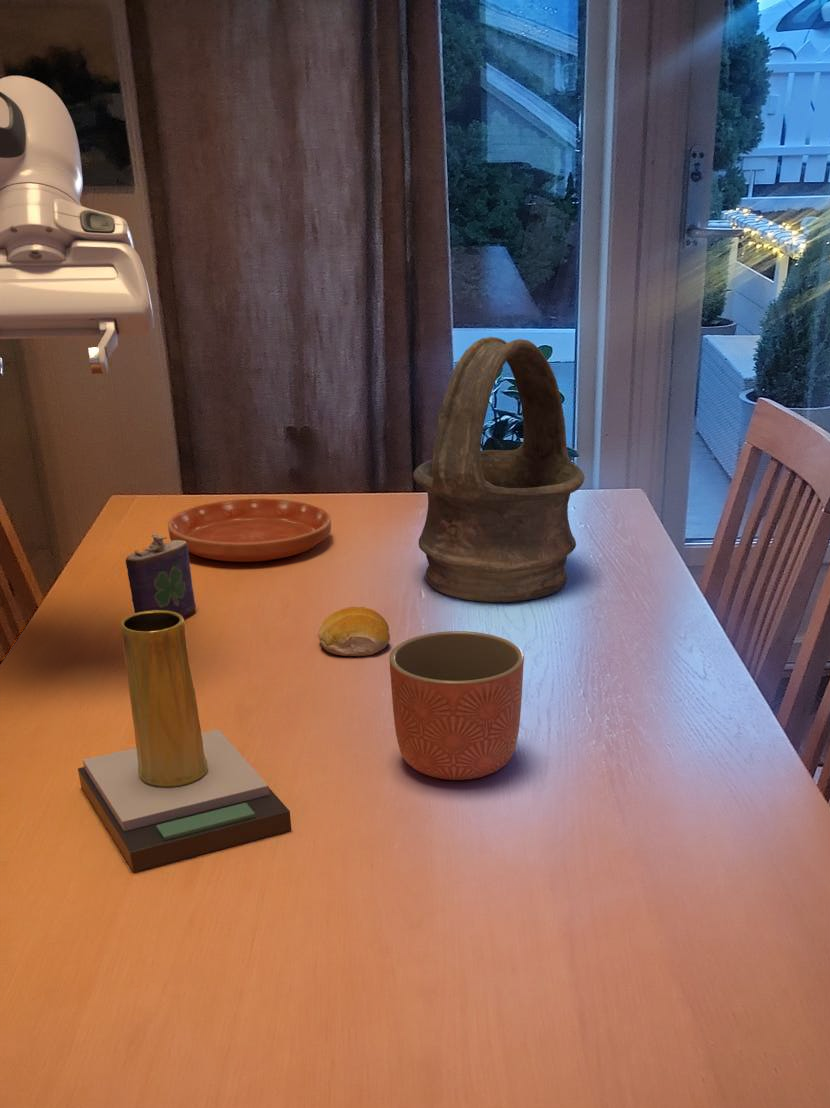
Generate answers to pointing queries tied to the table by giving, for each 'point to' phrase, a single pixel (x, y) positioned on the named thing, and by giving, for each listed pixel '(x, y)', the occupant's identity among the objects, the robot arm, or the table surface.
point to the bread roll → (354, 632)
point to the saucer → (250, 529)
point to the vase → (162, 699)
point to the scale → (182, 806)
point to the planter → (457, 702)
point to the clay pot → (499, 484)
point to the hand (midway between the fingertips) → (46, 371)
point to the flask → (162, 578)
